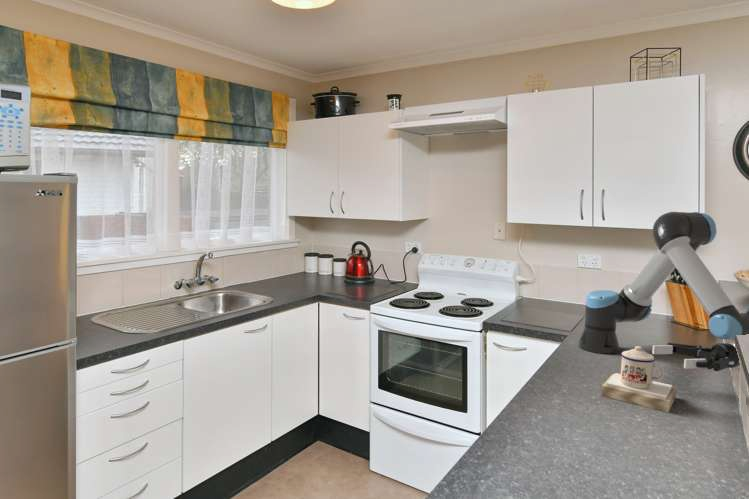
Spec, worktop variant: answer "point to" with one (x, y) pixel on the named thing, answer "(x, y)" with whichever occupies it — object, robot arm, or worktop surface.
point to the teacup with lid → (638, 368)
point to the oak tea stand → (640, 393)
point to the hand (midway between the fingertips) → (668, 356)
